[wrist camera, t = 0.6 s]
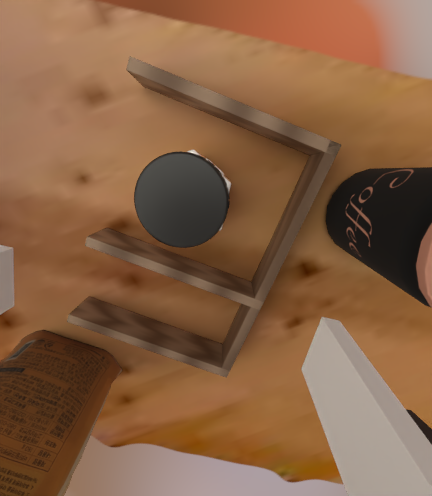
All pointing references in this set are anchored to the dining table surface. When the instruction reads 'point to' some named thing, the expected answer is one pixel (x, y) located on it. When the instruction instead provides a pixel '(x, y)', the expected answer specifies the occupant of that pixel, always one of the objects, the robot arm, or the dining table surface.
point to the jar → (182, 198)
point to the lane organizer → (192, 272)
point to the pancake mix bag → (49, 411)
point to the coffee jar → (387, 225)
